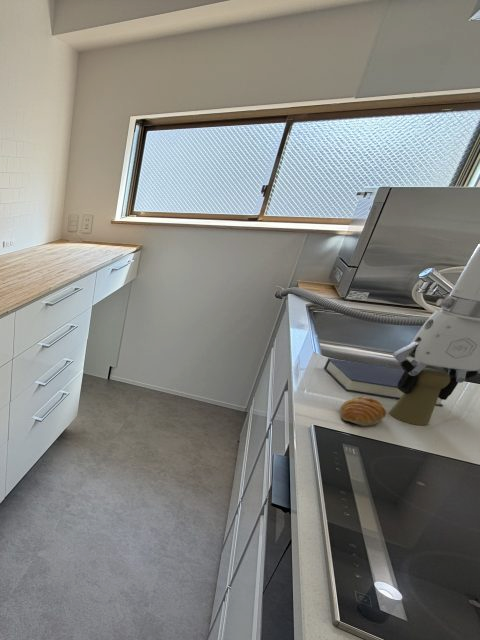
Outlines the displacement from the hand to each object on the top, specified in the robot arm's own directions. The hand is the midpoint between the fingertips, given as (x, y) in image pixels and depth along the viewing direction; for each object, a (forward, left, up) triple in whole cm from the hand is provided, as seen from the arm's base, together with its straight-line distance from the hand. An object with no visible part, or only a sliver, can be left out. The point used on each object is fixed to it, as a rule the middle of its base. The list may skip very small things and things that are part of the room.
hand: (421, 393), depth 85 cm
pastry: (+10, +5, -6) cm, 13 cm away
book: (-2, -17, -6) cm, 18 cm away
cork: (0, 0, -6) cm, 6 cm away
